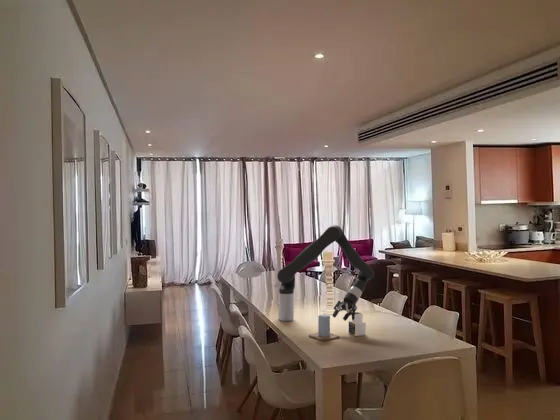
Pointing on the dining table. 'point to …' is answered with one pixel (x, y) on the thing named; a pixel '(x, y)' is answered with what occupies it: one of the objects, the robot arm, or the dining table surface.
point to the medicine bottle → (357, 325)
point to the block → (324, 325)
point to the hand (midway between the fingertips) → (338, 318)
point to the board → (327, 338)
